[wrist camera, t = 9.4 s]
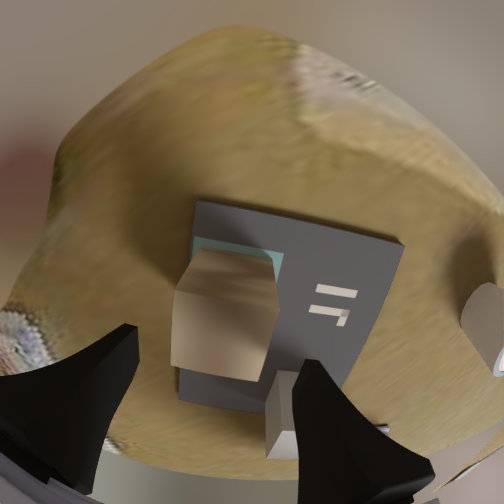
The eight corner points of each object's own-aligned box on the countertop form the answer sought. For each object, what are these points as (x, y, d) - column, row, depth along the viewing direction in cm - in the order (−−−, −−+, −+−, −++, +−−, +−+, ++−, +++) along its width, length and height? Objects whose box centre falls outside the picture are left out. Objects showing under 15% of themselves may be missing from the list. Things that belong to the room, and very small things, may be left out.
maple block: (272, 259, 17) (279, 309, 11) (257, 319, 18) (257, 381, 13) (200, 245, 17) (173, 289, 11) (193, 306, 18) (170, 365, 12)
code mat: (400, 243, 17) (405, 246, 16) (321, 412, 23) (322, 417, 22) (198, 199, 16) (196, 200, 16) (179, 394, 22) (178, 399, 22)
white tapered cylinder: (447, 313, 19) (490, 359, 12) (493, 262, 17) (541, 294, 11) (463, 347, 21) (496, 387, 14) (503, 302, 19) (540, 335, 12)
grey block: (329, 374, 20) (345, 430, 15) (312, 406, 22) (321, 459, 16) (277, 369, 20) (282, 430, 14) (265, 403, 21) (266, 458, 16)
